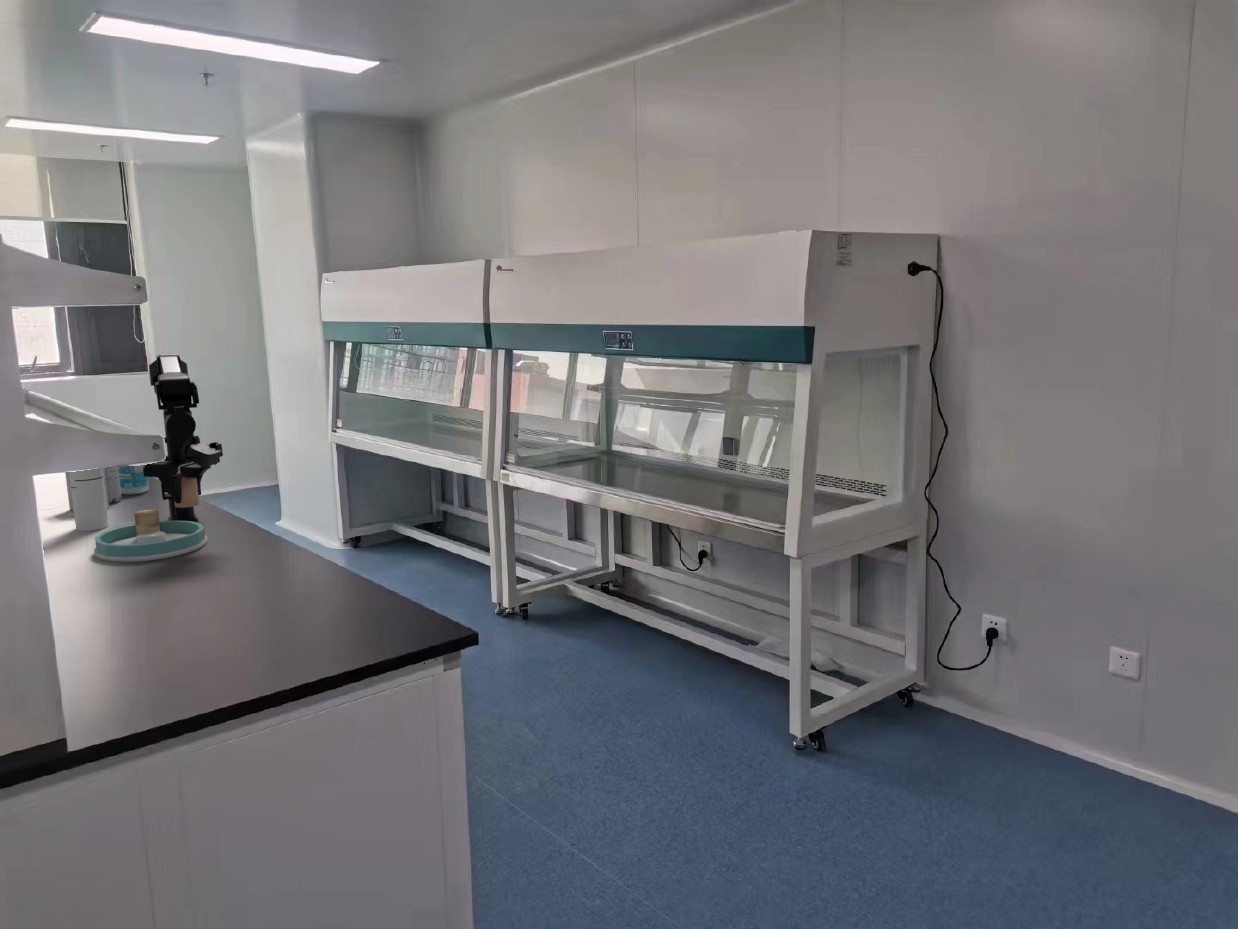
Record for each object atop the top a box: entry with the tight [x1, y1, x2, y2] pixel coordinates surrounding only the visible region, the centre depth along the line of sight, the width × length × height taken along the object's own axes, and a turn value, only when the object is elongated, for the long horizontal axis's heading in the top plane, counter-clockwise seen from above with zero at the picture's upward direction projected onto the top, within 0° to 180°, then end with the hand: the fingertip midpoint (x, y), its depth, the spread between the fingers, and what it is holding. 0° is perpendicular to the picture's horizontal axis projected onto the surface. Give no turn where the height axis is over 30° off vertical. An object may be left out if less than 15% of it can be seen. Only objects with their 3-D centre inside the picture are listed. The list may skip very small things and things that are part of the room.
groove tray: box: [93, 520, 208, 563], centre depth 207 cm, size 23×23×4 cm
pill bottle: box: [117, 465, 150, 496], centre depth 264 cm, size 8×7×14 cm
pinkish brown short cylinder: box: [175, 477, 200, 508], centre depth 205 cm, size 5×5×6 cm
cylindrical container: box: [69, 468, 110, 532], centre depth 224 cm, size 7×7×25 cm
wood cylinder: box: [133, 509, 160, 535], centre depth 212 cm, size 5×5×6 cm
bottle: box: [105, 466, 122, 504], centre depth 252 cm, size 7×7×20 cm
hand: (186, 500), depth 205 cm, fingers closed on pinkish brown short cylinder, 5 cm apart
